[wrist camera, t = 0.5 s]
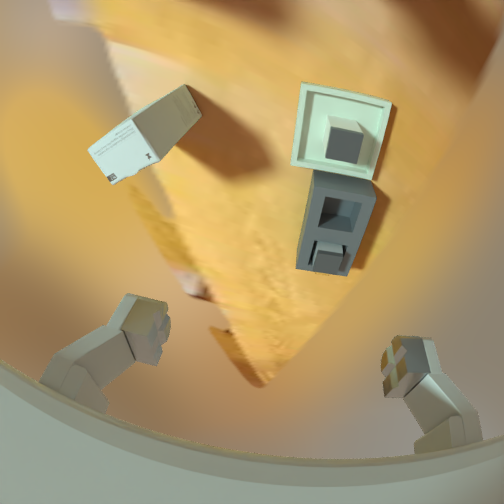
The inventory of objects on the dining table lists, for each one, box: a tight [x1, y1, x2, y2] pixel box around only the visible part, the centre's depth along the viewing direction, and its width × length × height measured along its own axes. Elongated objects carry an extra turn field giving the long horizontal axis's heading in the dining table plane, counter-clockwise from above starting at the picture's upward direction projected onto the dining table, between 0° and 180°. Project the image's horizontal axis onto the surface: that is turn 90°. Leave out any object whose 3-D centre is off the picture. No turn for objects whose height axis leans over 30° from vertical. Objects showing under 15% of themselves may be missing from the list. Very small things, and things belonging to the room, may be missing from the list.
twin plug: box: [313, 240, 343, 275], centre depth 47 cm, size 4×4×6 cm
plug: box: [323, 115, 364, 164], centre depth 34 cm, size 4×4×6 cm
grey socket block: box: [296, 170, 377, 276], centre depth 45 cm, size 16×9×6 cm, turn 177°
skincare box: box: [88, 84, 202, 185], centre depth 33 cm, size 8×6×15 cm
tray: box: [290, 82, 392, 180], centre depth 36 cm, size 12×12×2 cm
